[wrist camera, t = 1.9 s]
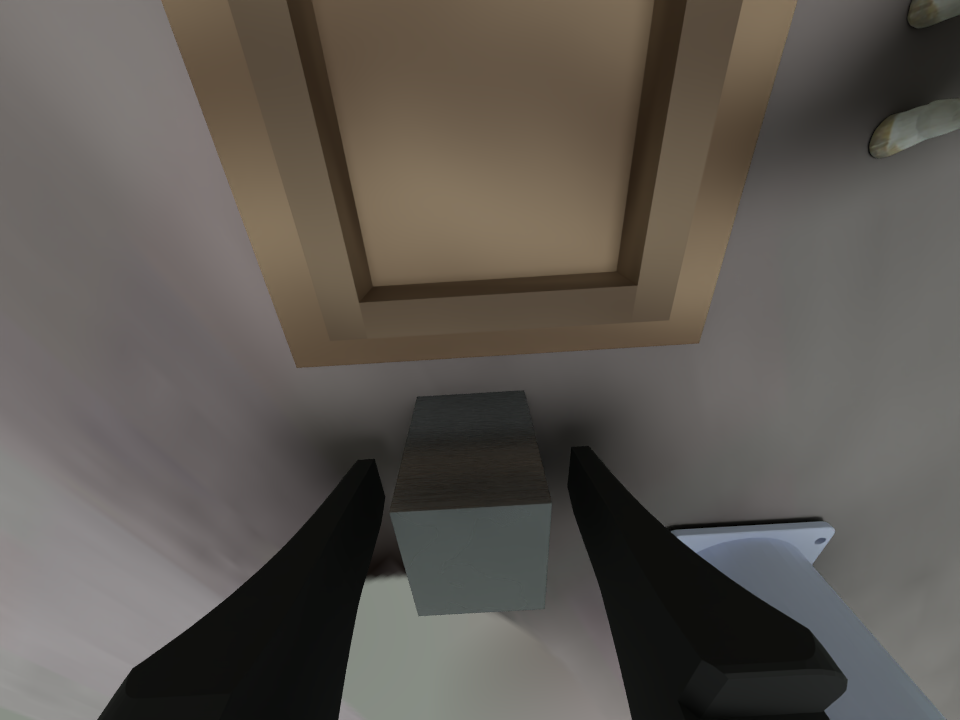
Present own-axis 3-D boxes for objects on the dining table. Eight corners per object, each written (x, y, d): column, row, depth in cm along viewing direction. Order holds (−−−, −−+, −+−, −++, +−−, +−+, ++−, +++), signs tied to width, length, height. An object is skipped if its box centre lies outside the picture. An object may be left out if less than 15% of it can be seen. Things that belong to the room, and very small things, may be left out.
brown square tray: (685, 333, 12) (728, 364, 10) (307, 356, 12) (275, 392, 10) (882, -426, 5) (1120, -770, 3) (58, -366, 5) (-175, -670, 3)
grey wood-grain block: (523, 482, 15) (544, 608, 11) (433, 487, 15) (418, 616, 11) (524, 389, 13) (551, 503, 8) (417, 395, 13) (389, 512, 8)
